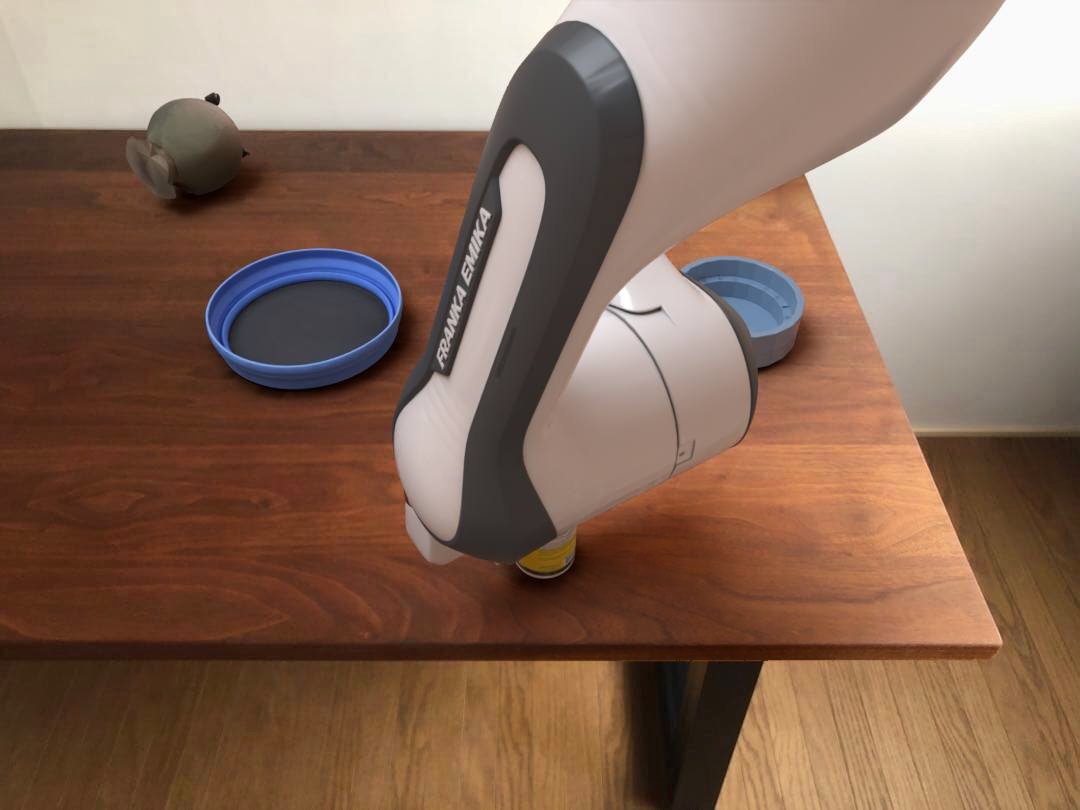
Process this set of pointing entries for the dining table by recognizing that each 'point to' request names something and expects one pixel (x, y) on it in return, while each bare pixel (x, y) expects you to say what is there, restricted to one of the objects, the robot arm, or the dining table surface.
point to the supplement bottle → (551, 556)
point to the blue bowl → (755, 300)
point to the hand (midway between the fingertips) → (544, 531)
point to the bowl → (305, 317)
